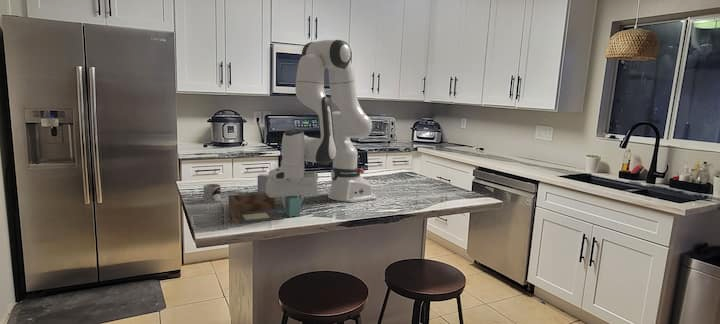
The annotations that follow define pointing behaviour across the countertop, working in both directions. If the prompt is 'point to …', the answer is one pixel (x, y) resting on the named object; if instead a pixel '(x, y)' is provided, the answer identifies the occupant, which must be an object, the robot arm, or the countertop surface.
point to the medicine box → (262, 182)
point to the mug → (212, 193)
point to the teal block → (292, 206)
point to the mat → (259, 216)
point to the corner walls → (249, 204)
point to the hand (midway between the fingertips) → (292, 206)
